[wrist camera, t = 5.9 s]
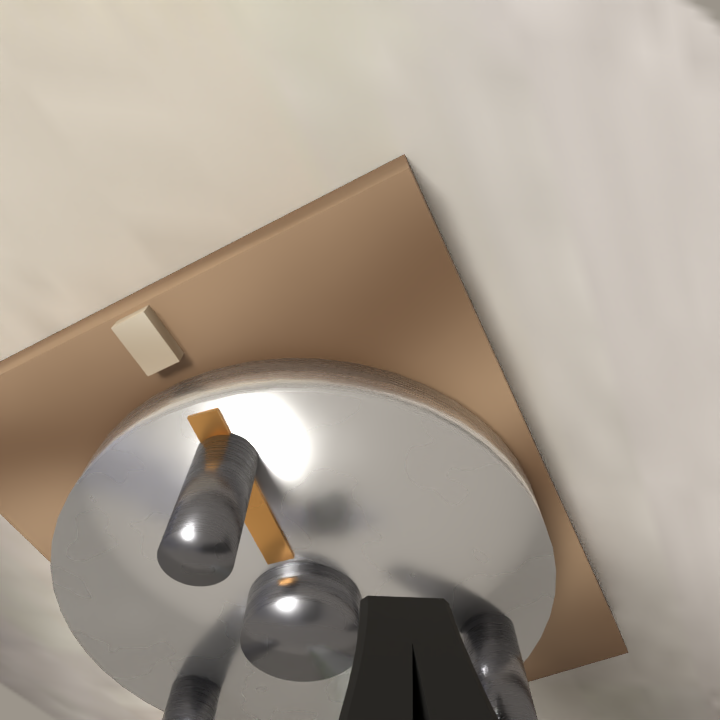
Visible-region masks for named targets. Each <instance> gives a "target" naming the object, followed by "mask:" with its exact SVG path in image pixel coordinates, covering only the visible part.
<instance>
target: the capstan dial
mask: <svg viewBox="0 0 720 720" xmlns="http://www.w3.org/2000/svg"><path fill="white" fill-rule="evenodd" d="M50 566H51V573H52V581H53V588H54V592H55V595H56V598H57V601H58V604H59V607H60V610H61V612H62V614H63V616H64V618H65V620H66V622H67V624H68V626H69V628H70V630H71V632H72V633H73V635H74V636H75V638H76V639H77V640H78V642H79V643H80V644H81V646H82V647H83V649H84V650H85V651H86V653H87V654H88V655H89V656H90V657H91V658H92V659H93V660H94V661H95V662H96V663H97V664H98V665H99V666H100V667H101V669H102V670H103V671H105V672H106V673H107V674H108V675H109V676H111V677H112V678H113V679H114V680H115V681H117V682H118V683H119V684H120V685H121V686H123V687H124V688H126V689H127V690H129V691H130V692H131V693H133V694H134V695H136V696H137V697H139V698H140V699H142V700H143V701H145V702H147V703H149V704H151V705H153V706H154V707H156V708H158V709H160V710H162V711H164V715H163V719H162V720H339V716H340V712H341V709H342V705H343V701H344V698H345V694H346V690H347V687H348V683H349V679H350V674H351V669H352V665H353V660H354V655H355V650H356V644H357V633H358V621H359V609H360V600H361V599H363V598H365V597H366V596H394V597H421V598H444V599H445V600H446V601H447V602H448V603H449V604H450V607H451V610H452V613H453V616H454V619H455V622H456V624H457V627H458V630H459V632H460V635H461V637H462V640H463V642H464V645H465V647H466V650H467V652H468V654H469V657H470V659H471V662H472V664H473V666H474V668H475V671H476V673H477V675H478V677H479V680H480V682H481V684H482V686H483V688H484V691H485V693H486V695H487V697H488V699H489V701H490V703H491V705H492V707H493V709H494V711H495V713H496V715H497V717H498V719H499V720H537V716H536V712H535V708H534V704H533V700H532V696H531V692H530V688H529V684H528V680H527V676H526V672H525V668H524V664H523V663H524V662H525V660H526V659H527V658H528V657H529V655H530V654H531V652H532V651H533V649H534V647H535V646H536V644H537V643H538V641H539V640H540V638H541V636H542V634H543V631H544V629H545V627H546V624H547V622H548V620H549V618H550V614H551V610H552V606H553V601H554V597H555V586H556V566H555V559H554V552H553V547H552V544H551V541H550V538H549V535H548V532H547V529H546V526H545V523H544V520H543V518H542V515H541V512H540V509H539V507H538V504H537V501H536V498H535V496H534V493H533V490H532V487H531V485H530V482H529V480H528V479H527V477H526V475H525V473H524V471H523V469H522V468H521V466H520V464H519V462H518V460H517V459H516V458H515V456H514V455H513V454H512V452H511V451H510V450H509V449H508V447H507V446H506V445H505V443H504V442H503V441H502V440H501V438H500V437H499V436H498V435H497V434H495V433H494V432H493V431H492V430H491V429H490V428H489V427H488V426H487V425H486V424H485V423H484V422H483V421H482V420H481V419H480V418H478V417H477V416H476V415H474V414H473V413H471V412H470V411H469V410H467V409H466V408H464V407H463V406H462V405H460V404H459V403H457V402H456V401H454V400H453V399H451V398H449V397H447V396H445V395H444V394H442V393H440V392H438V391H436V390H434V389H432V388H430V387H428V386H426V385H425V384H422V383H420V382H417V381H414V380H412V379H409V378H406V377H404V376H401V375H398V374H396V373H393V372H390V371H386V370H382V369H378V368H374V367H370V366H366V365H362V364H358V363H351V362H344V361H336V360H328V359H318V358H280V359H270V360H260V361H251V362H245V363H240V364H236V365H231V366H227V367H223V368H218V369H214V370H211V371H208V372H205V373H203V374H200V375H197V376H194V377H192V378H189V379H186V380H183V381H181V382H179V383H177V384H175V385H173V386H171V387H170V388H168V389H166V390H164V391H162V392H160V393H158V394H156V395H154V396H153V397H151V398H150V399H149V400H147V401H146V402H144V403H143V404H142V405H140V406H139V407H137V408H136V409H135V410H133V411H132V412H130V413H129V414H128V415H127V416H126V417H125V418H124V419H123V420H122V421H121V422H120V423H119V424H118V425H117V426H116V427H115V428H114V429H113V430H112V431H111V432H110V433H109V434H108V436H107V437H106V438H105V440H104V441H103V442H102V444H101V445H100V447H99V448H98V449H97V451H96V452H95V454H94V455H93V457H92V458H91V460H90V461H89V463H88V465H87V466H86V468H85V469H84V471H83V473H82V474H81V476H80V477H79V479H78V481H77V482H76V484H75V485H74V487H73V489H72V490H71V492H70V494H69V495H68V498H67V500H66V502H65V504H64V506H63V508H62V510H61V512H60V514H59V516H58V519H57V523H56V527H55V531H54V535H53V539H52V547H51V565H50Z"/></svg>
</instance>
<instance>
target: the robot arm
mask: <svg viewBox="0 0 720 720" xmlns="http://www.w3.org/2000/svg"><path fill="white" fill-rule="evenodd" d="M339 720H499V719H498V717H497V715H496V713H495V711H494V709H493V707H492V705H491V703H490V701H489V699H488V697H487V695H486V693H485V691H484V688H483V686H482V684H481V682H480V680H479V677H478V675H477V673H476V671H475V668H474V666H473V664H472V662H471V659H470V657H469V654H468V652H467V650H466V647H465V645H464V642H463V640H462V637H461V635H460V632H459V630H458V627H457V624H456V622H455V619H454V616H453V613H452V610H451V607H450V604H449V603H448V602H447V601H446V600H445V599H444V598H421V597H394V596H366V597H365V598H363V599H361V600H360V609H359V621H358V633H357V644H356V650H355V655H354V660H353V665H352V669H351V674H350V679H349V683H348V687H347V690H346V694H345V698H344V701H343V705H342V709H341V712H340V716H339Z"/></svg>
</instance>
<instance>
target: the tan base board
mask: <svg viewBox="0 0 720 720" xmlns="http://www.w3.org/2000/svg"><path fill="white" fill-rule="evenodd" d="M280 358H318V359H328V360H336V361H344V362H351V363H358V364H362V365H366V366H370V367H374V368H378V369H382V370H386V371H390V372H393V373H396V374H398V375H401V376H404V377H406V378H409V379H412V380H414V381H417V382H420V383H422V384H425V385H426V386H428V387H430V388H432V389H434V390H436V391H438V392H440V393H442V394H444V395H445V396H447V397H449V398H451V399H453V400H454V401H456V402H457V403H459V404H460V405H462V406H463V407H464V408H466V409H467V410H469V411H470V412H471V413H473V414H474V415H476V416H477V417H478V418H480V419H481V420H482V421H483V422H484V423H485V424H486V425H487V426H488V427H489V428H490V429H491V430H492V431H493V432H494V433H495V434H497V435H498V436H499V437H500V438H501V440H502V441H503V442H504V443H505V445H506V446H507V447H508V449H509V450H510V451H511V452H512V454H513V455H514V456H515V458H516V459H517V460H518V462H519V464H520V466H521V468H522V469H523V471H524V473H525V475H526V477H527V479H528V480H529V482H530V485H531V487H532V490H533V493H534V496H535V498H536V501H537V504H538V507H539V509H540V512H541V515H542V518H543V520H544V523H545V526H546V529H547V532H548V535H549V538H550V541H551V544H552V547H553V552H554V559H555V566H556V586H555V597H554V601H553V606H552V610H551V614H550V618H549V620H548V622H547V624H546V627H545V629H544V631H543V634H542V636H541V638H540V640H539V641H538V643H537V644H536V646H535V647H534V649H533V651H532V652H531V654H530V655H529V657H528V658H527V659H526V660H525V662H524V663H523V664H524V668H525V672H526V676H527V680H528V682H529V681H533V680H536V679H540V678H543V677H546V676H550V675H553V674H557V673H560V672H563V671H567V670H570V669H574V668H577V667H581V666H584V665H587V664H591V663H594V662H598V661H601V660H605V659H608V658H611V657H615V656H618V655H622V654H625V653H628V650H627V648H626V645H625V643H624V641H623V638H622V636H621V634H620V631H619V629H618V627H617V624H616V622H615V619H614V617H613V615H612V612H611V610H610V608H609V606H608V604H607V601H606V599H605V597H604V595H603V593H602V590H601V588H600V586H599V584H598V581H597V579H596V577H595V575H594V573H593V570H592V568H591V566H590V564H589V562H588V559H587V557H586V555H585V553H584V550H583V548H582V546H581V544H580V542H579V539H578V537H577V535H576V533H575V531H574V528H573V526H572V524H571V522H570V519H569V517H568V515H567V513H566V511H565V508H564V506H563V504H562V502H561V500H560V497H559V495H558V493H557V491H556V488H555V486H554V484H553V482H552V480H551V477H550V475H549V473H548V471H547V469H546V466H545V464H544V462H543V460H542V457H541V455H540V453H539V451H538V449H537V446H536V444H535V442H534V440H533V438H532V435H531V433H530V431H529V429H528V426H527V424H526V422H525V420H524V418H523V415H522V413H521V411H520V409H519V407H518V404H517V402H516V400H515V398H514V395H513V393H512V391H511V389H510V387H509V384H508V382H507V380H506V378H505V376H504V373H503V371H502V369H501V367H500V364H499V362H498V360H497V358H496V356H495V353H494V351H493V349H492V347H491V345H490V342H489V340H488V338H487V336H486V333H485V331H484V329H483V327H482V325H481V322H480V320H479V318H478V316H477V314H476V311H475V309H474V307H473V305H472V302H471V300H470V298H469V296H468V294H467V291H466V289H465V287H464V285H463V283H462V280H461V278H460V276H459V274H458V271H457V269H456V267H455V265H454V263H453V260H452V258H451V256H450V254H449V252H448V249H447V247H446V245H445V243H444V240H443V238H442V236H441V234H440V232H439V229H438V227H437V225H436V223H435V221H434V218H433V216H432V214H431V212H430V209H429V207H428V205H427V203H426V201H425V198H424V196H423V194H422V192H421V190H420V187H419V185H418V183H417V181H416V178H415V176H414V174H413V172H412V170H411V167H410V165H409V163H408V161H407V159H406V156H405V154H404V155H402V156H400V157H398V158H396V159H394V160H392V161H390V162H388V163H386V164H385V165H383V166H381V167H379V168H377V169H375V170H373V171H371V172H369V173H367V174H365V175H363V176H361V177H359V178H357V179H355V180H353V181H351V182H349V183H348V184H346V185H344V186H342V187H340V188H338V189H336V190H334V191H332V192H330V193H328V194H326V195H324V196H322V197H320V198H318V199H316V200H314V201H312V202H310V203H309V204H307V205H305V206H303V207H301V208H299V209H297V210H295V211H293V212H291V213H289V214H287V215H285V216H283V217H281V218H279V219H277V220H275V221H273V222H272V223H270V224H268V225H266V226H264V227H262V228H260V229H258V230H256V231H254V232H252V233H250V234H248V235H246V236H244V237H242V238H240V239H238V240H236V241H234V242H233V243H231V244H229V245H227V246H225V247H223V248H221V249H219V250H217V251H215V252H213V253H211V254H209V255H207V256H205V257H203V258H201V259H199V260H197V261H195V262H194V263H192V264H190V265H188V266H186V267H184V268H182V269H180V270H178V271H176V272H174V273H172V274H170V275H168V276H166V277H164V278H162V279H160V280H158V281H157V282H155V283H153V284H151V285H149V286H147V287H145V288H143V289H141V290H139V291H137V292H135V293H133V294H131V295H129V296H127V297H125V298H123V299H121V300H119V301H118V302H116V303H114V304H112V305H110V306H108V307H106V308H104V309H102V310H100V311H98V312H96V313H94V314H92V315H90V316H88V317H86V318H84V319H82V320H80V321H79V322H77V323H75V324H73V325H71V326H69V327H67V328H65V329H63V330H61V331H59V332H57V333H55V334H53V335H51V336H49V337H47V338H45V339H43V340H42V341H40V342H38V343H36V344H34V345H32V346H30V347H28V348H26V349H24V350H22V351H20V352H18V353H16V354H14V355H12V356H10V357H8V358H6V359H4V360H3V361H1V362H0V514H1V515H2V516H3V517H4V518H5V519H6V520H7V521H8V522H9V523H10V524H11V525H12V526H13V527H14V528H15V529H16V530H17V531H19V532H20V533H21V534H22V535H23V536H24V537H25V538H26V539H27V540H28V541H29V542H30V543H31V544H32V545H33V546H34V547H35V548H36V549H37V550H38V551H39V552H40V553H41V554H42V555H43V556H44V557H45V558H46V559H47V560H49V561H50V562H51V547H52V539H53V535H54V531H55V527H56V523H57V519H58V516H59V514H60V512H61V510H62V508H63V506H64V504H65V502H66V500H67V498H68V495H69V494H70V492H71V490H72V489H73V487H74V485H75V484H76V482H77V481H78V479H79V477H80V476H81V474H82V473H83V471H84V469H85V468H86V466H87V465H88V463H89V461H90V460H91V458H92V457H93V455H94V454H95V452H96V451H97V449H98V448H99V447H100V445H101V444H102V442H103V441H104V440H105V438H106V437H107V436H108V434H109V433H110V432H111V431H112V430H113V429H114V428H115V427H116V426H117V425H118V424H119V423H120V422H121V421H122V420H123V419H124V418H125V417H126V416H127V415H128V414H129V413H130V412H132V411H133V410H135V409H136V408H137V407H139V406H140V405H142V404H143V403H144V402H146V401H147V400H149V399H150V398H151V397H153V396H154V395H156V394H158V393H160V392H162V391H164V390H166V389H168V388H170V387H171V386H173V385H175V384H177V383H179V382H181V381H183V380H186V379H189V378H192V377H194V376H197V375H200V374H203V373H205V372H208V371H211V370H214V369H218V368H223V367H227V366H231V365H236V364H240V363H245V362H251V361H260V360H270V359H280Z"/></svg>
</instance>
